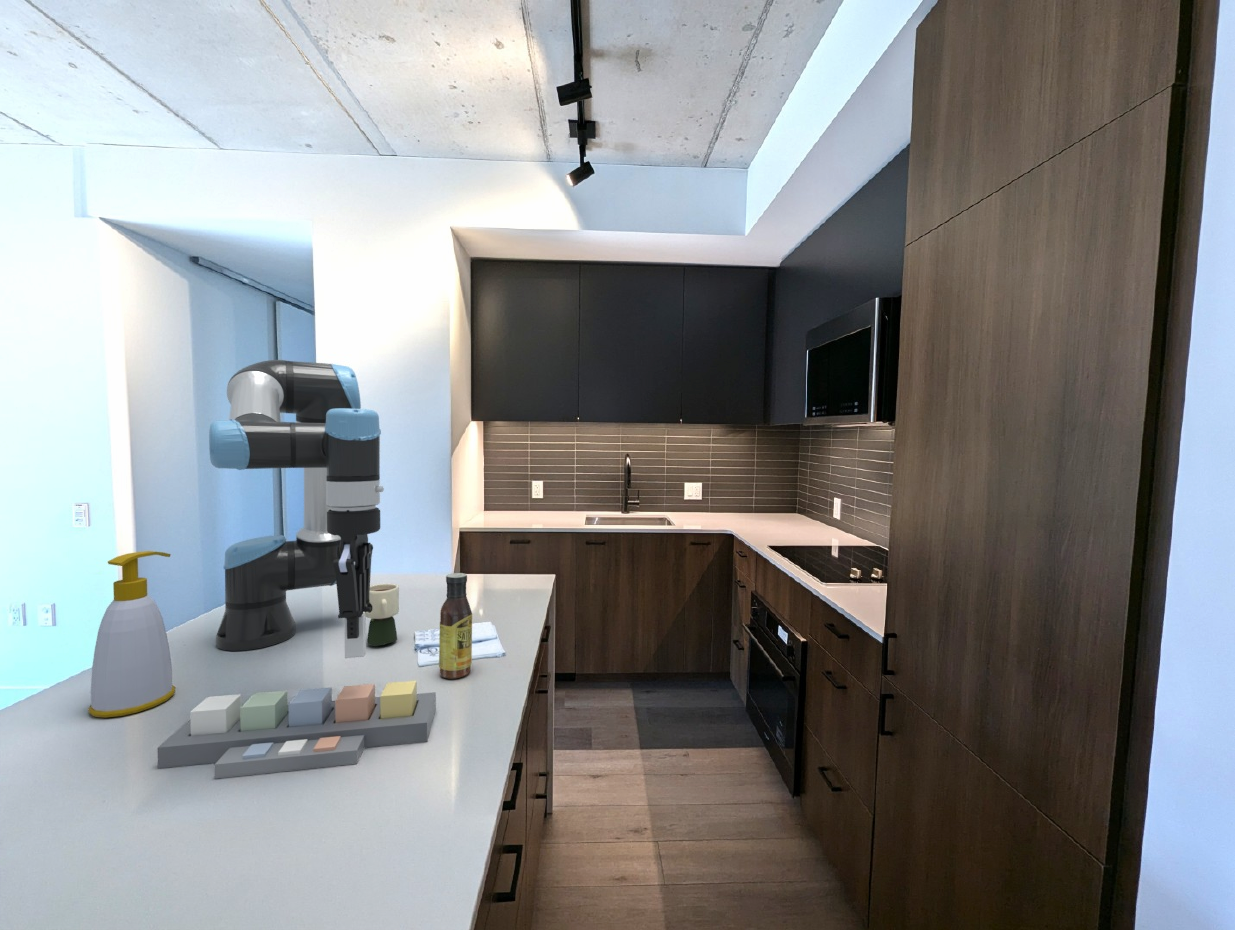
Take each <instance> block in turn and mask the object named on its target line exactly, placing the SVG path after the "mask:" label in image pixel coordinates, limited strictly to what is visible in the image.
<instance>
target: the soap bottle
mask: <svg viewBox="0 0 1235 930" xmlns="http://www.w3.org/2000/svg"><path fill="white" fill-rule="evenodd" d="M171 555H172V554H171V553H167V552H162V551H153V550H143V551H136V552H129V553H125V554H122V555H118V556H116V557H114V558H111V559H110V560H108V561H107V564H108V565H112V566H120V567H121V573H122V575H121V577H122V579H120V580H119V579H118V580H116V581H113V584H112V585H113V586H112V587H113V599H112V601H111V602H110V604H109V605H108V606H107V607H106V610H105V612H104V614H103V616H102V618H101V621H100V624H99V626H98V630H97V636H96V641H95V646H94V651H93V659H92V665H91V679H90V681H91V682H90V703H91V704H90V705H89V707H88V713H89V715H91V716H93V717H96V718H103V719H104V718H115V717H122V716H127V715H128V716H129V715H132V714H136V713H140V712H144V711H145V710H148V709H151V708H155V707H157V706H158V705H161V704H162V703H165V702H167V701H168V700H169V699H171V698H172V697H173V695H175V690H176V686H175V685H173V667H172V665H173V664H172V658H171V649H170V645H169V640H168V635H167V630H166V627H165V626H166V625H165V623H164V618H163V616H162V613H161V611H160V608H159V606H158V605H157V604H156V601H155V600H154V599H153V598H152V597H151V596H150V595H148V578H146V577H139V562H138V561H139V558H144V557H152V556H161V557H167V558H170V557H171Z"/></svg>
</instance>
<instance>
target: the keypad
mask: <svg viewBox="0 0 1235 930" xmlns="http://www.w3.org/2000/svg"><path fill="white" fill-rule="evenodd" d="M436 710H437V692H436V691H434V692H422V693H417V705H416V708H415V710H414V713H413V716H409V717H398V718H387V719H381V696H375V709H374V711H373V713H372V715H371V717H370V719H369V720H365V721H354V722H342V723H336V717H335V700H332V712H331V714H330V715H329V717H328V718H327V720H326V721H325V723H324V724H320V725H309V726H298V727H289V703H288V715H287V716H286V717H285V718H284V720H283V721H282V722H281V723H280V725H279V726H278V727H277V728H276V729H265V730H254V731H243V732H241V720H239V721H238V723H237V724H236V725H235V726H234V727H233V728H232V729H231V730H230V731H229V732H228V733H221V734H209V735H198V736H191V722H190V719H188V720H187V721H186V722H185V723H184V724H182V726H181V727H179V728H178V729H176V731H175V732H174V733H172V734H171V735H170V736H169V737H168V738H166V739H165V740H164V741H163V742H162V743H160V744H159V746H158V747H157V750H156V751H157V752H156V753H157V769H165V768H177V767H185V766H194V765H195V766H196V765H206V764H207V765H209V764H214V780H218V779H225V778H226V779H227V778H234V777H244V776H251V775H252V776H253V775H264V774H265V775H266V774H271V773H272V774H274V773H275V774H276V773H283V772H290V771H303V770H310V769H311V770H312V769H321V768H329V767H338V766H349V765H357V764H358V763H359V760H360V758H361V756H362V754H363V751H365V749H366V748H374V747H375V748H376V747H377V748H378V747H384V746H385V747H386V746H394V745H395V746H396V745H406V744H407V745H409V744H414V743H426V742H428V739H429V735H430V732H431V729H432V726H433V725H432V724H433V722H434V718H435V714H436Z"/></svg>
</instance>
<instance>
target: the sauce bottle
mask: <svg viewBox="0 0 1235 930" xmlns="http://www.w3.org/2000/svg"><path fill="white" fill-rule="evenodd" d="M445 582H446V595H445V596H446V599H445V601H444V603H443V604H442V606H441V608H440V612H439V613H440V619H439V620H440V621H439V628H440V639H439V664H438V668H439V675H440V676H441V677H442V678H443V679H451V680H455V679H460V678H463V677H465V676H467V675H469V674H470V672H471V668H472V667H471V665H472V661H473V660H472V624H473V611H472V609H471V606H470V603H469V600H468V597H467V582H468V575H467V573H463V572H455V573H454V572H453V573H450V574H449V573H448V574H447V575H446V576H445Z"/></svg>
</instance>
